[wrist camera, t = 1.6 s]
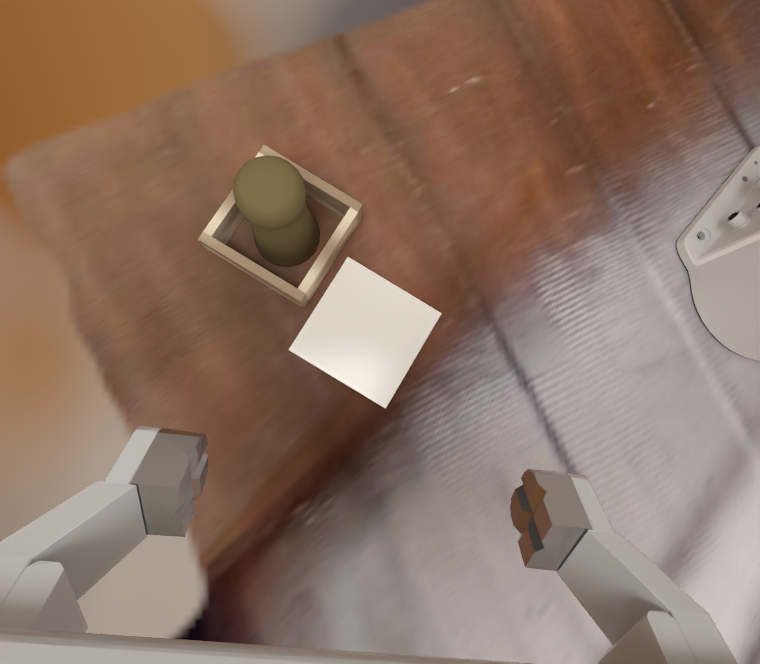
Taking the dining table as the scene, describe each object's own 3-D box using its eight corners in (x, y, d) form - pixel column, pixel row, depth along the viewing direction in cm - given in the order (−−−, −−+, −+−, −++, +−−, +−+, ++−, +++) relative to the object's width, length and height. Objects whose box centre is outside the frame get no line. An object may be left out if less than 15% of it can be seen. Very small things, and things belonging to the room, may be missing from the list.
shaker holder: (270, 164, 43) (263, 144, 39) (361, 219, 43) (362, 204, 39) (210, 251, 41) (197, 239, 38) (304, 308, 41) (300, 301, 38)
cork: (252, 206, 42) (219, 143, 31) (317, 202, 43) (306, 138, 32) (256, 269, 41) (223, 226, 31) (322, 264, 42) (313, 221, 31)
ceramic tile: (347, 259, 42) (347, 256, 41) (439, 315, 42) (441, 313, 41) (290, 350, 41) (288, 349, 40) (384, 408, 41) (385, 408, 40)
